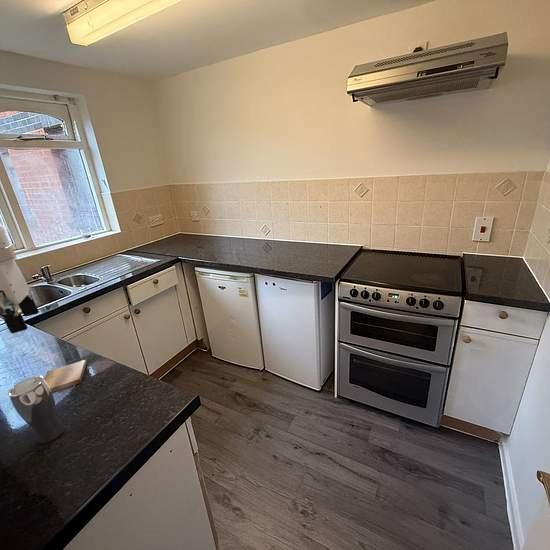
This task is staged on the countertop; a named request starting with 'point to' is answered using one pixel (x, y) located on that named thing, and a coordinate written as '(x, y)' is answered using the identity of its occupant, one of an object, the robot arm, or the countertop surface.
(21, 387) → the beer glass
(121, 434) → the countertop surface
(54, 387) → the board
